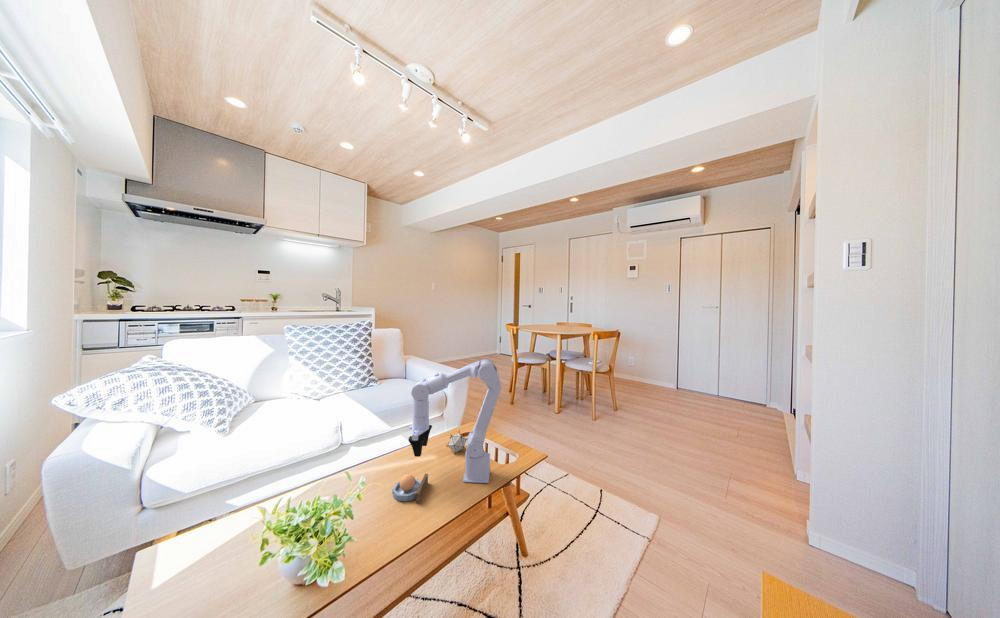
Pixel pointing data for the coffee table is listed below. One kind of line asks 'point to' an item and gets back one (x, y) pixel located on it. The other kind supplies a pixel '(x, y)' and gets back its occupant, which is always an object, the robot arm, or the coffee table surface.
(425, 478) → the wooden block
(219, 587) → the coffee table surface
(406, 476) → the ball
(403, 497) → the dish
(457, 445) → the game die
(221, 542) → the coffee table surface
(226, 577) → the coffee table surface
